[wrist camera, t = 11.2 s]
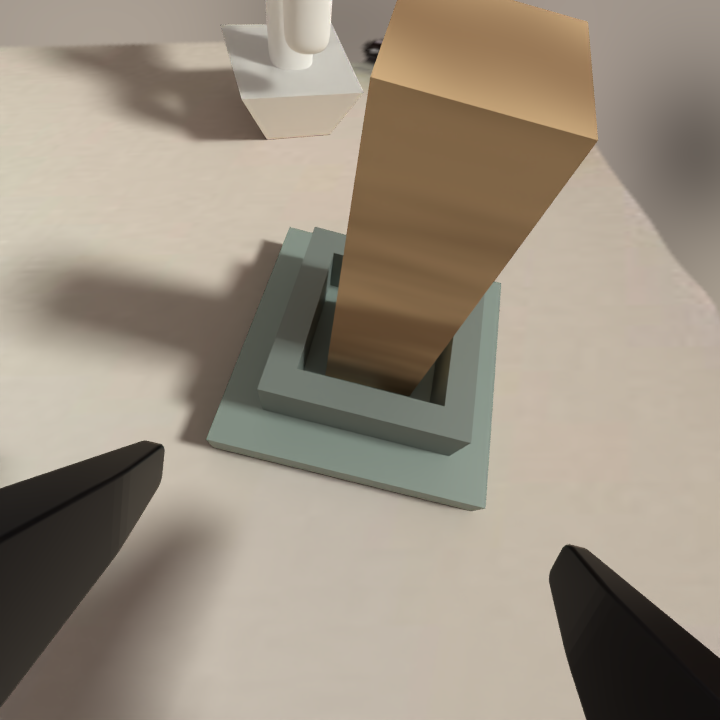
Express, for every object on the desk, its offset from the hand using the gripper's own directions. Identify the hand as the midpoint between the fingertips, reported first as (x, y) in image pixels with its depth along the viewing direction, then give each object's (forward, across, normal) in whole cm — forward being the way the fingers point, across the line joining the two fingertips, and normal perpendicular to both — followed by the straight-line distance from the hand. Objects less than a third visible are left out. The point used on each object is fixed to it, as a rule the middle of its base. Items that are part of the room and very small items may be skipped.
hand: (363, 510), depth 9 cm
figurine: (+24, +9, -11) cm, 28 cm away
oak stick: (+11, 0, 0) cm, 11 cm away
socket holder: (+12, 0, +1) cm, 12 cm away
